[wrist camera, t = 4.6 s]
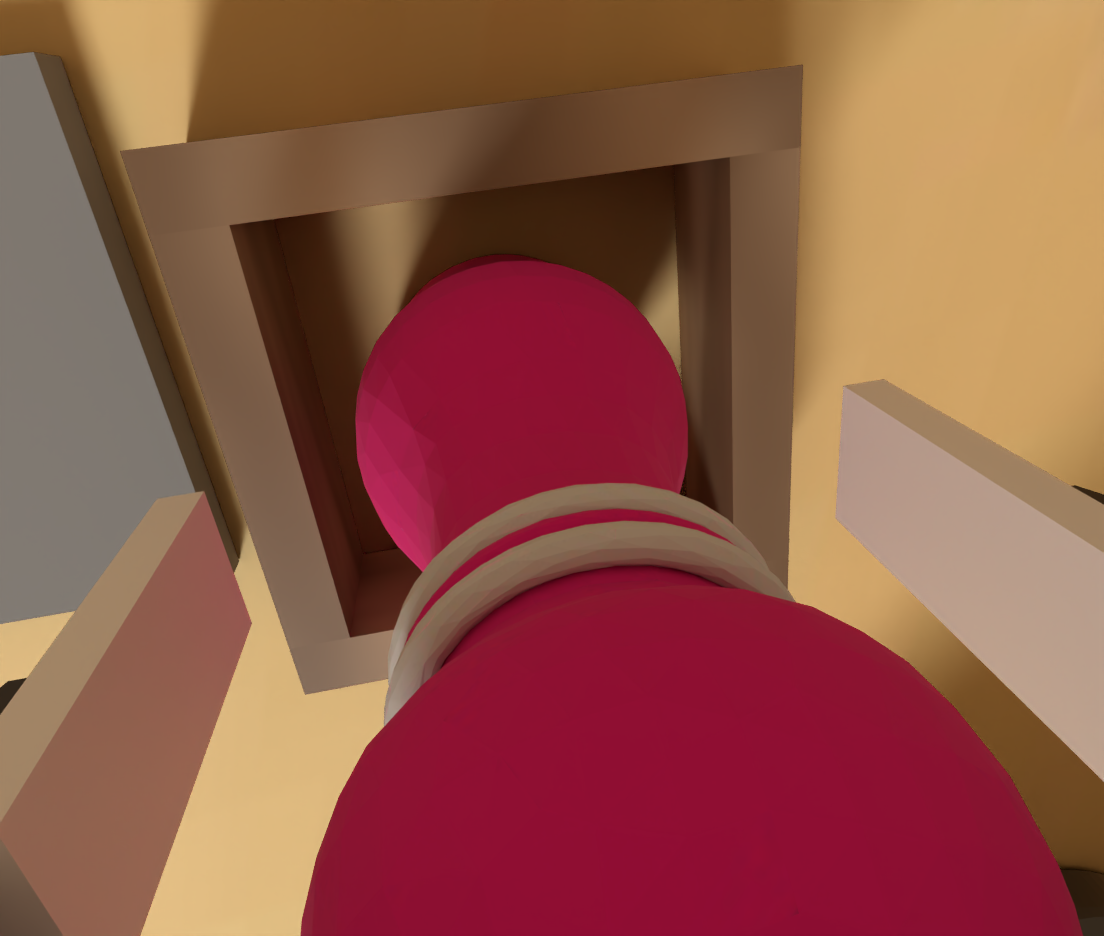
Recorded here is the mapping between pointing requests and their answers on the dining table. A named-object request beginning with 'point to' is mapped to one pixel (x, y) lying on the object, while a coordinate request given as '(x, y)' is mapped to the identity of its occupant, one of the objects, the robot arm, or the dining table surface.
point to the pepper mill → (629, 673)
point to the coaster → (74, 361)
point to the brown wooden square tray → (453, 168)
